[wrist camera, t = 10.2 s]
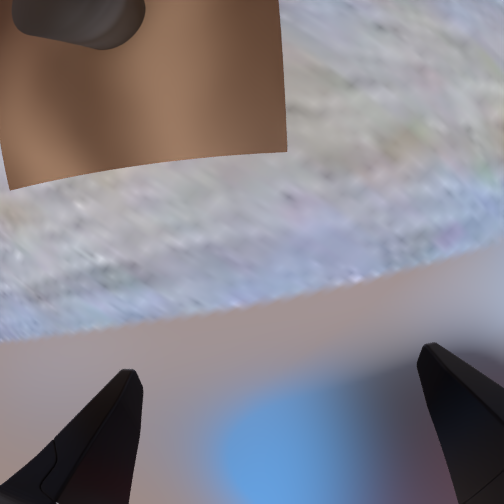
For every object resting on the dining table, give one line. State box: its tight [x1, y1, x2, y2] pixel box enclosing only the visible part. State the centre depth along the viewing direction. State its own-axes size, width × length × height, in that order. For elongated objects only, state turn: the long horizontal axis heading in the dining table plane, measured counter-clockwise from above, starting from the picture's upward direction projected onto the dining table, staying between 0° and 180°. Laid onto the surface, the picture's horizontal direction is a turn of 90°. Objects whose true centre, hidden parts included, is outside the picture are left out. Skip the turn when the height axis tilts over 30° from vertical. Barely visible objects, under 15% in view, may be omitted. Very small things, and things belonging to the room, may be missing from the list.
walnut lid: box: [0, 0, 287, 190], centre depth 8 cm, size 14×14×6 cm
